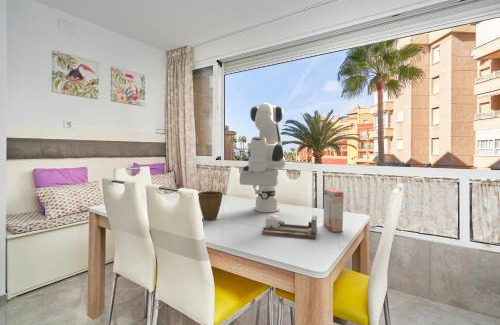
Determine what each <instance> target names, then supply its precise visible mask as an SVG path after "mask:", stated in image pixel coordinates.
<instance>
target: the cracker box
mask: <svg viewBox="0 0 500 325" xmlns="http://www.w3.org/2000/svg"><path fill="white" fill-rule="evenodd" d="M323 192H324V193H323V221H322V222H323V224H322V225H323V226H324V227H325V228H326V229H328V230H329V231H330V232H331V233H342V232H343V224H344V218H343V217H344V192H343V191H340V190H338V189H336V188H324V189H323Z"/></svg>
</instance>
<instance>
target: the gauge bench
mask: <svg viewBox="0 0 500 325" xmlns="http://www.w3.org/2000/svg"><path fill="white" fill-rule="evenodd" d="M278 228H280V229H292V230H303V231H307V234H305V233H295V232H284V231H273V230H263V229H262V231H261V234H262V235H266V236H267V235H268V236H275V237H287V238H295V239H296V238H298V239H299V238H300V239H308V240H316V237H317V232H318V229H317V230H316V234H311V228H309V229H307V228H295V227H283V226H279V227H278Z"/></svg>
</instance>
